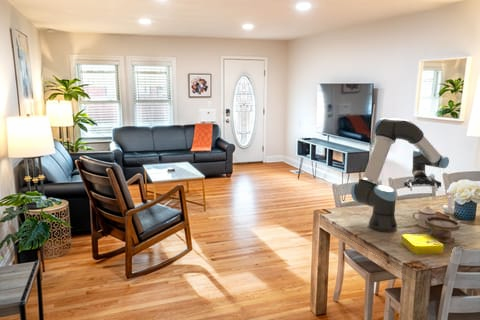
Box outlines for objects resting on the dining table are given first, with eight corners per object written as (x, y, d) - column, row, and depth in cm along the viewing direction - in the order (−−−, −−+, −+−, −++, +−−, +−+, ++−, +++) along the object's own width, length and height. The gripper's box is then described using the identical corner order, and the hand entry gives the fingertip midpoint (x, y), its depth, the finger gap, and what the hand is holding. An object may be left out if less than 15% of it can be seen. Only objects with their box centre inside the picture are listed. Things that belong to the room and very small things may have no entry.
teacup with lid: (435, 224, 218) (437, 205, 216) (434, 229, 210) (436, 210, 208) (412, 221, 224) (414, 202, 222) (411, 226, 216) (412, 206, 214)
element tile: (427, 241, 196) (428, 232, 195) (444, 253, 181) (445, 244, 180) (399, 242, 195) (400, 233, 194) (414, 254, 180) (415, 245, 180)
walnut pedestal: (430, 243, 193) (431, 226, 191) (419, 231, 208) (421, 215, 206) (463, 244, 190) (465, 227, 189) (450, 232, 206) (452, 217, 204)
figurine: (442, 213, 237) (444, 190, 234) (443, 209, 245) (445, 187, 242) (455, 215, 233) (457, 192, 231) (456, 211, 241) (458, 188, 238)
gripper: (442, 183, 236) (447, 195, 217) (399, 182, 245) (400, 194, 226) (442, 171, 235) (448, 183, 215) (399, 171, 243) (400, 182, 224)
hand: (423, 188), depth 221 cm, fingers open, 13 cm apart
